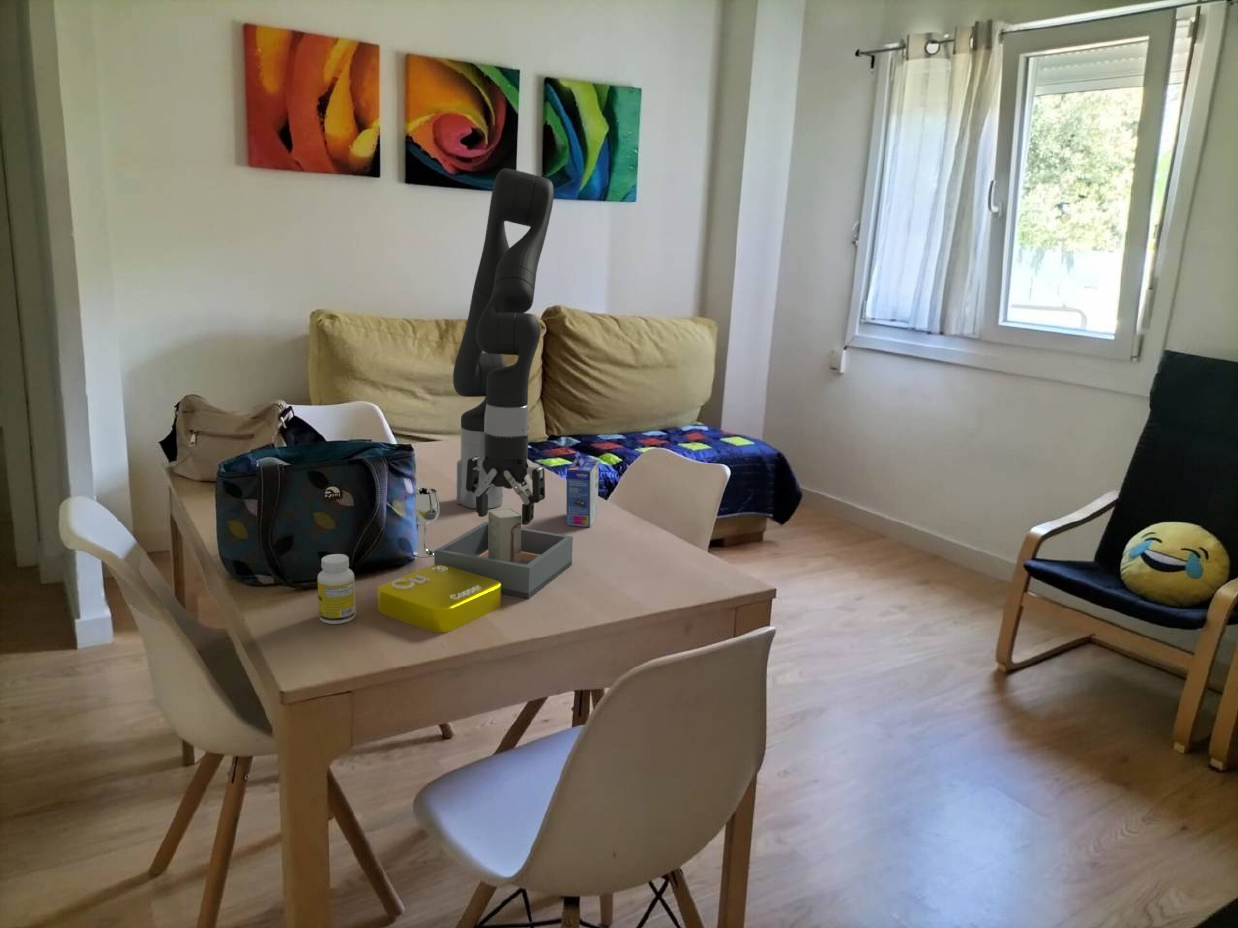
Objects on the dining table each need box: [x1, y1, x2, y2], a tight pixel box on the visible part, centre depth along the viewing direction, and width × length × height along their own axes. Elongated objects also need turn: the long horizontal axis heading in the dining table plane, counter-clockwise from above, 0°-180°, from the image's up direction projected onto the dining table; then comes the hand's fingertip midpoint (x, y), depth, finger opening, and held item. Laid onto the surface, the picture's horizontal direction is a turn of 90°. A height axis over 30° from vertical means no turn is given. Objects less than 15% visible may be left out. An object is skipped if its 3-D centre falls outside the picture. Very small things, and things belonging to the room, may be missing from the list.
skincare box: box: [488, 508, 522, 564], centre depth 164 cm, size 5×4×10 cm
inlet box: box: [433, 521, 574, 600], centre depth 164 cm, size 18×18×6 cm
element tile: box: [377, 564, 502, 634], centre depth 148 cm, size 15×15×5 cm
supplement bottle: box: [317, 553, 356, 625], centre depth 142 cm, size 5×5×10 cm
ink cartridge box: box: [566, 451, 599, 528], centre depth 195 cm, size 10×6×14 cm, turn 172°
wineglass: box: [415, 487, 441, 558], centre depth 171 cm, size 6×6×12 cm
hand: (504, 519), depth 162 cm, fingers open, 8 cm apart
